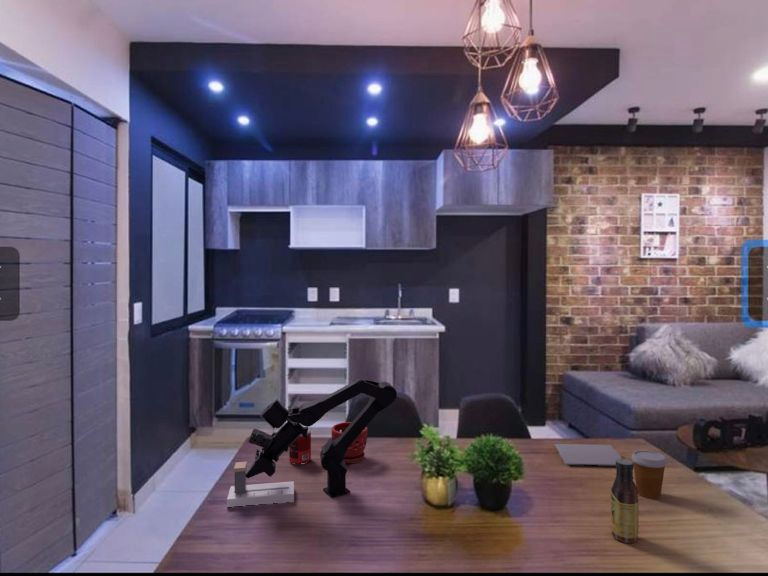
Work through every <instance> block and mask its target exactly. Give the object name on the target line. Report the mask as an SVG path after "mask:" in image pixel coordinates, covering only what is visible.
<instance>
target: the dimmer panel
mask: <svg viewBox="0 0 768 576" xmlns="http://www.w3.org/2000/svg"><path fill="white" fill-rule="evenodd" d="M286 502H290V503H295V481H282V482H281V481H279V482H269V483H268V482H267V483H257V484H254V483H253V484H247V487H246V491H245V493H235V485H232V486H230V488H229V492H228V494H227V498H226V508H227V507H232V508H234V507H233V506H243V505H255V506H257V505H256V504H267V505H274V504H273V503H278V504H287V503H286ZM243 507H244V506H243Z"/></svg>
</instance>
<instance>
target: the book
mask: <svg viewBox="0 0 768 576" xmlns="http://www.w3.org/2000/svg"><path fill="white" fill-rule="evenodd" d="M553 445H554V447H556V449H557V451H558V452H559V456H560V457H561V459H562V460H563V463H564V464H565V465H567V464H568V465H567V466H584V465H598V466H597V467H616V460H617V459H623V458H622V457H621V455H620V454H619V453H618V451H617V450H616V449H615V448H614V447H613V446H612V445H611V444H582V443H581V444H577V443H575V444H572V443H554V444H553Z"/></svg>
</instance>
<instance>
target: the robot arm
mask: <svg viewBox="0 0 768 576" xmlns="http://www.w3.org/2000/svg"><path fill="white" fill-rule="evenodd" d="M397 393H398V392H397V390H396V389H395V387H394V386H393V385H392V384H391V383H390V382H388V381H381V382H378V381H374V380H368V379H365V378H364V377H363V378H362V377H358V378H356V379H355V380H354V381H352V382H350V383H348V384H346V385H345V386H343V387H341V388H339V389H337V390H335V391H333V392H332V393H329V394H328V395H326V396H324V397H322V398H320V399H314V400H310V401H306V402H305V403H302V404H301V405H300V406H299V407H293V408H288V409H287V408H286V407H285V406H284V405H283V404H282V403H281V401H280V400H279V399H275V400H274V401H273V402H271V403H270V404H268V405H267V406H266V407H265V408H264V410H263V411H262V412H261V413H260V414H259V416H260V418H262V419H263V420H264V421H265V422H266V423H267V424H268V425H269V426H270V427H271V428H272V429H275V428H276V429H278V431H277V432H276V431H275V432H272V433H271V434H270V433H267V432H264V431H263V430H260V429H258V428H253V429H252V431H251V434H250V436H249V438H248V443H249V444H251V445H254V446H255V445H256V446H257V447H260V448H261V449H256V453H255V456H254V458H255V459H254V461H253V463H252V464H251V466H250V467H249V469H248V470H247V471H246V479H250V478H253V477H255V476H258V475H260V474H262V473H265V474H266V475H267V476H268V477H272V476H273V475H275V473H276V468H277V467H276V465H277V464H276V463H278V461H279V460H280V457H281V456H282V455H283V454H284V453H285V452H287V453H288V452H289V446H290V445H291V444H292V443H293V442H294V441H295V440H296V439H297V438H298V437H299V436H300V435H301V434H302V435H303V436H304V437H305V438H307V437H308V435H307V432H308V429H309V427H311V426H313V425H315V424H316V423H318V421H320V420H321V419H322V418H323V416H325V415H326V414H327V413H328V412H330V411H331V410H333V409H335V408H337V407H339V406H340V405H342V404H344V403H346V402H347V401H350V400H351V399H353V398H355V397H356V396H357V397H358V395H360V394H364V395H366V396H370V398H369V399H368V402H367V404H366V405H365V406H364V407H363V408H362V409H361V411H360V412H359V413H358V414H357V415H356V416H355V418H354V419H353V420H351V424H350V425H349V426H348V427H347V428H346V429H345V431H344V432H343V433H342V434H341V435H340V436H339V437H338V438H337V439H335V440H332V437H329V438H328V440H327V442H326V443H325V444H324V445H322V446H321V451H320V455H319V456H320V466H321V467H322V469H323V470H324V471H326V472H327V473H326V477H327V480H326V481H327V484H326V487H324V488H322V491H323V492H325V493H326V494H327V495H328V496H329V497H330V498H335V497H340V496H343V495H347V494H351V491H350V489H348V488H347V481H346V480H347V479H346V476H347V473H348V469H347V463H345V461H344V456H345V454H346V452H347V450H348V448H349V447H350V445H351V444H352V443H353V442H354V441H355V440H356V438H357V437H358V436H359V435H360V434H361V432H362V431H363V430H364V429H365V428H366V427H367V428H368V426H369V424H370V423H371V422H372V421H373V420H374V418H375V417H376V416H377V415H378V414H379V413H380V412H382V411H384V410H386V409H387V408H389V407H390V406H391V405H392V404H393V403H394V402H395V401H396V399H397V398H398V394H397Z"/></svg>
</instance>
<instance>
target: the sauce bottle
mask: <svg viewBox="0 0 768 576" xmlns="http://www.w3.org/2000/svg"><path fill="white" fill-rule="evenodd" d="M615 467H616V469H615V471H616V474H615V479H614V481H613V483H612V486H611V488H610V530H611V536H612V537H613V538H614V539H615V540H617V541H619V542H620V543H621V542H622V543H624V544H625V543H626V544H634V543H636V542H637V541H638V539H639V494H638V489H637V487H636V482H635V481H634V480H633V479H634V473H633V471H634V464H633V460H632V459H631V460H630V459H627V458H622V459H617V460H616V466H615Z"/></svg>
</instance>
